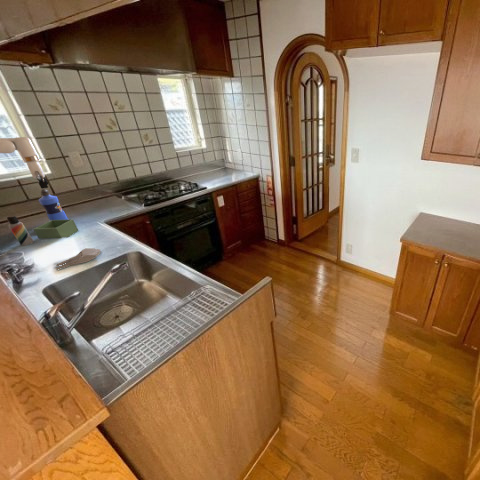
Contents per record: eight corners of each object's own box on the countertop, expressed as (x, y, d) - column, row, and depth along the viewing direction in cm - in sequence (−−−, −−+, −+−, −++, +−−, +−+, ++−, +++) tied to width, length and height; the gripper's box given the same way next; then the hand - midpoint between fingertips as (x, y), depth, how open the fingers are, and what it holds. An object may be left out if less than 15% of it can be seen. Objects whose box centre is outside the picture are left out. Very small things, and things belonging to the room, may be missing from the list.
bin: (62, 240, 165) (56, 228, 161) (40, 241, 165) (33, 229, 161) (78, 230, 177) (72, 219, 173) (57, 231, 177) (51, 220, 173)
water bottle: (50, 227, 183) (30, 192, 171) (55, 222, 191) (37, 188, 179) (66, 224, 187) (48, 190, 175) (71, 219, 194) (54, 186, 182)
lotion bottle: (21, 246, 159) (2, 216, 149) (34, 242, 163) (15, 213, 153) (23, 249, 156) (4, 218, 146) (36, 245, 160) (18, 215, 150)
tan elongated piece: (59, 267, 142) (53, 261, 139) (101, 249, 152) (96, 243, 149) (60, 275, 135) (53, 268, 133) (104, 256, 146) (98, 249, 143)
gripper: (23, 157, 163) (38, 184, 171) (20, 162, 152) (36, 190, 160) (40, 156, 167) (53, 182, 175) (38, 160, 156) (52, 188, 164)
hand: (45, 186), depth 168 cm, fingers open, 9 cm apart
